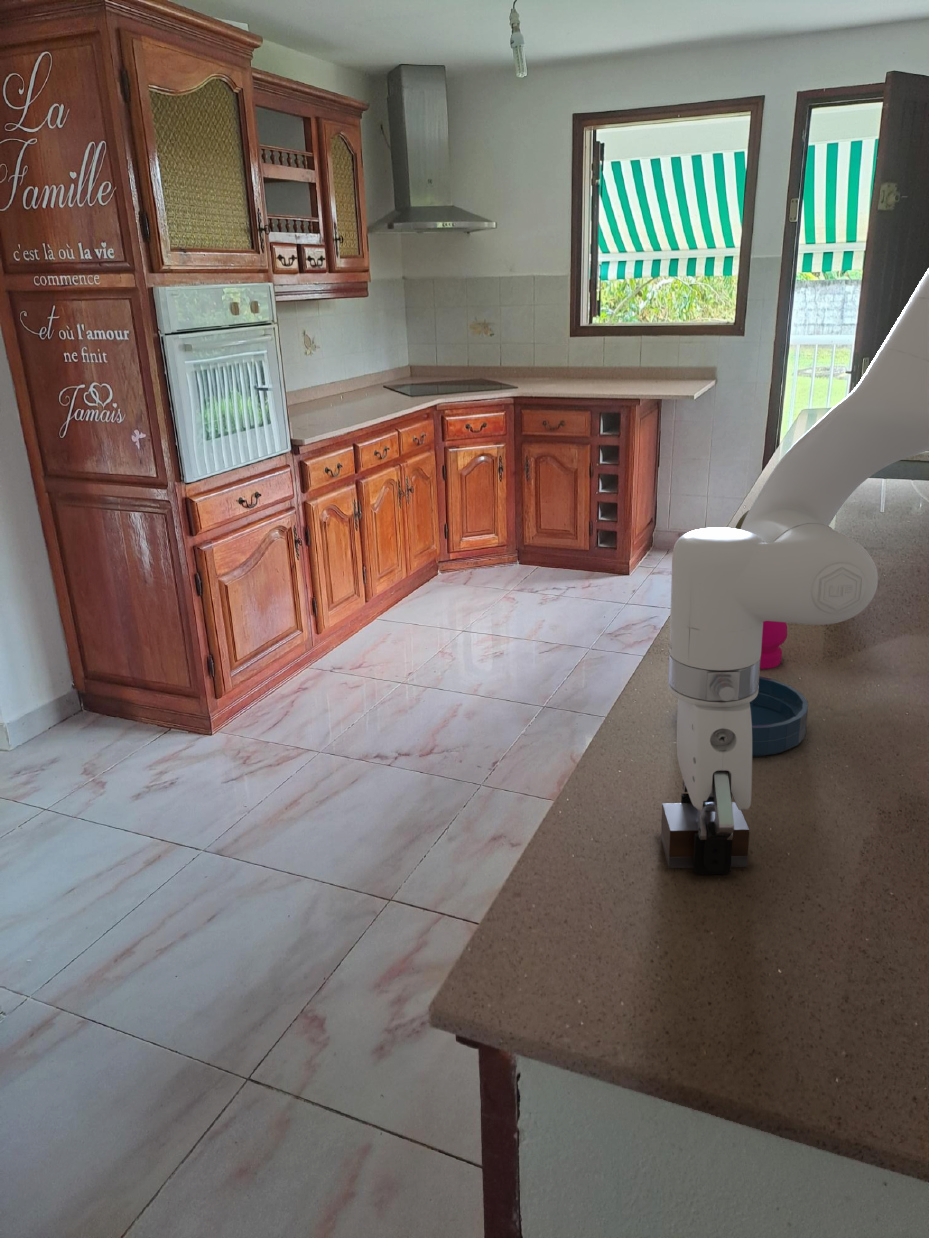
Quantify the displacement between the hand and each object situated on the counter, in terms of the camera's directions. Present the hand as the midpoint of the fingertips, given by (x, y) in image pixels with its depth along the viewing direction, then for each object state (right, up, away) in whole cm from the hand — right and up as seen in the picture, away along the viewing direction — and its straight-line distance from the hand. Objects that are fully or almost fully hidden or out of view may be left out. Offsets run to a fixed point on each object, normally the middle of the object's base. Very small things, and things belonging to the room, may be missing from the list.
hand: (704, 848), depth 82 cm
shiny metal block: (0, 0, 0) cm, 0 cm away
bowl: (+10, +8, +22) cm, 26 cm away
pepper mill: (+18, +15, +40) cm, 47 cm away
